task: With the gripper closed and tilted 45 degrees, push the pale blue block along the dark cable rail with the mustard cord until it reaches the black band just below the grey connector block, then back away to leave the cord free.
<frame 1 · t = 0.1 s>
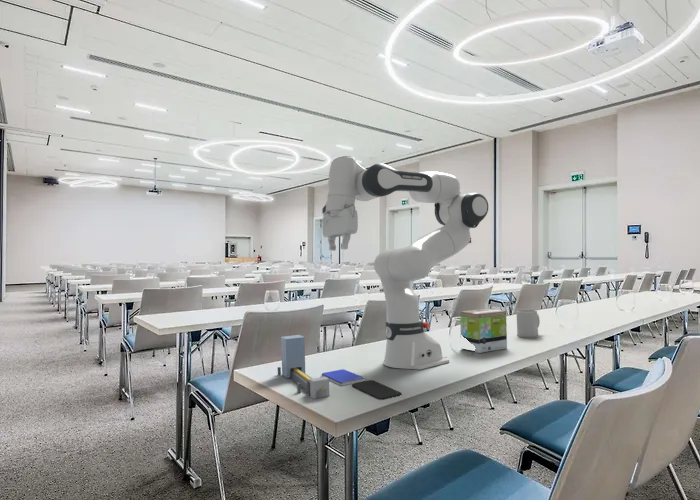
hand: (338, 249, 131), 39 cm above the table, tool pointing down, fingers open, 8 cm apart
tea box: (484, 349, 158), on the table
cord rail: (302, 382, 121), on the table
mug: (530, 335, 183), on the table
phone: (375, 392, 112), on the table
hard drive: (343, 381, 124), on the table
pale blue block: (293, 355, 129), point 6 cm above the table, slide at 0.0 cm
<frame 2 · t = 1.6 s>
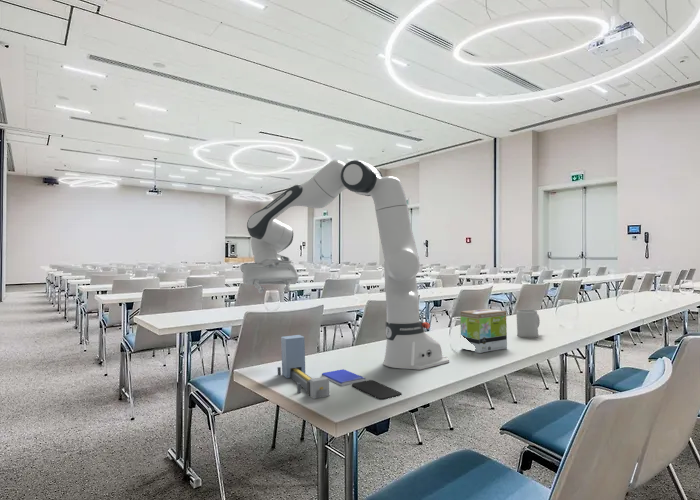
hand: (274, 291, 146), 25 cm above the table, tool tilted 45°, fingers open, 8 cm apart
nothing on the table moved.
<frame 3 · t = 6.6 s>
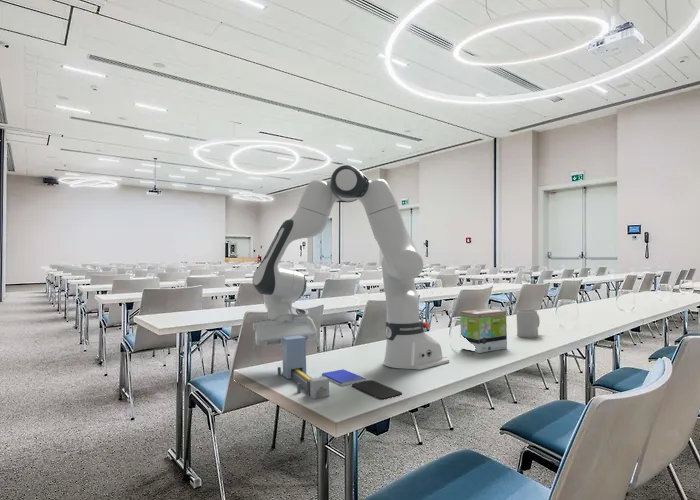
hand: (291, 352, 131), 7 cm above the table, tool tilted 45°, fingers closed, pressing on pale blue block
pale blue block: (294, 356, 128), point 6 cm above the table, slide at 1.0 cm, touching gripper
everything else where it was.
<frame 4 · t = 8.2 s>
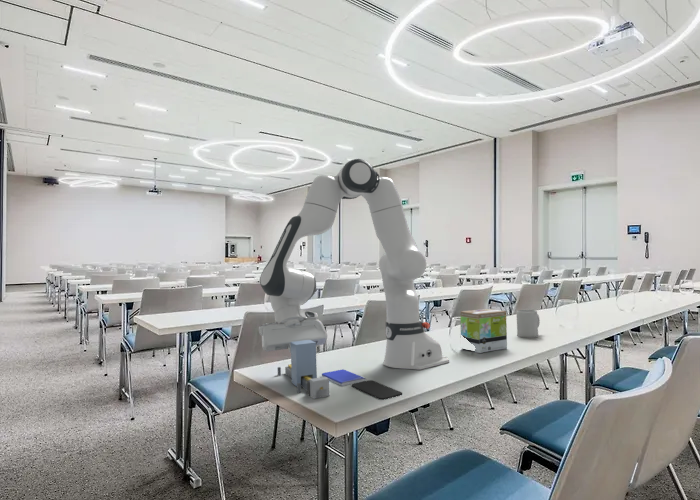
hand: (300, 358, 123), 7 cm above the table, tool tilted 45°, fingers closed, pressing on pale blue block
pale blue block: (303, 362, 120), point 6 cm above the table, slide at 10.2 cm, touching gripper
everything else where it was.
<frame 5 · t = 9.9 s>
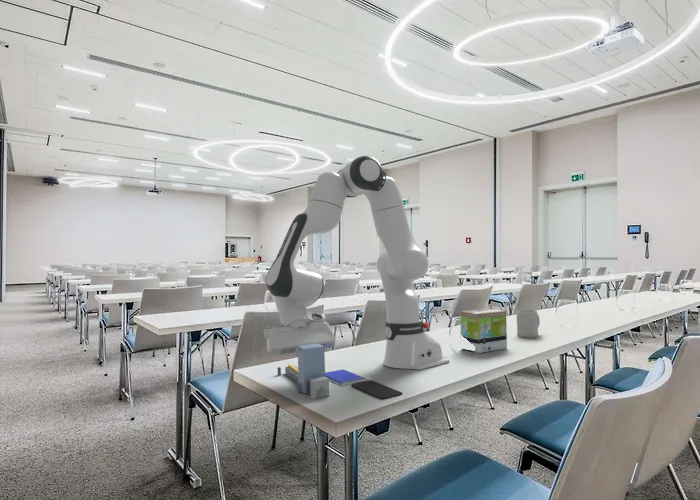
hand: (307, 362, 117), 7 cm above the table, tool tilted 45°, fingers closed, pressing on pale blue block
pale blue block: (311, 367, 114), point 6 cm above the table, slide at 16.8 cm, touching gripper
everything else where it was.
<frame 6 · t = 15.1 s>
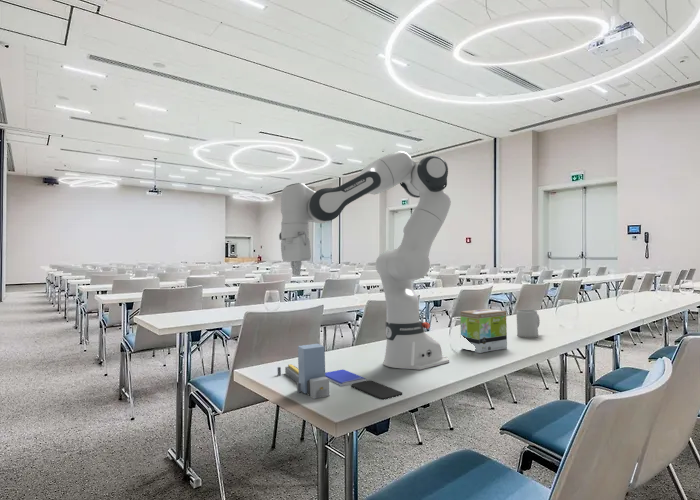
hand: (296, 275, 135), 31 cm above the table, tool pointing down, fingers closed
pale blue block: (311, 367, 114), point 6 cm above the table, slide at 17.0 cm
everything else where it was.
at the end: pale blue block slide at 17.0 cm; hard drive moved 0.8 cm from its start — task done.
